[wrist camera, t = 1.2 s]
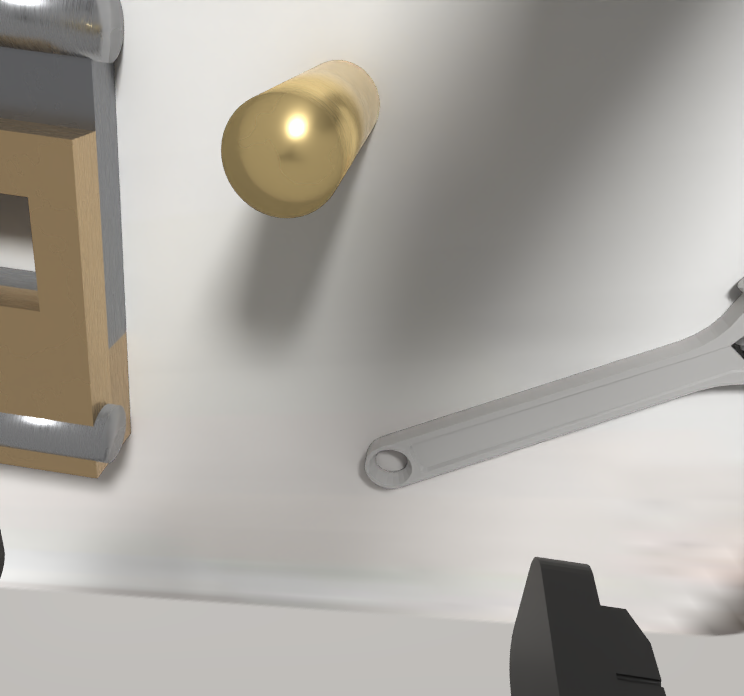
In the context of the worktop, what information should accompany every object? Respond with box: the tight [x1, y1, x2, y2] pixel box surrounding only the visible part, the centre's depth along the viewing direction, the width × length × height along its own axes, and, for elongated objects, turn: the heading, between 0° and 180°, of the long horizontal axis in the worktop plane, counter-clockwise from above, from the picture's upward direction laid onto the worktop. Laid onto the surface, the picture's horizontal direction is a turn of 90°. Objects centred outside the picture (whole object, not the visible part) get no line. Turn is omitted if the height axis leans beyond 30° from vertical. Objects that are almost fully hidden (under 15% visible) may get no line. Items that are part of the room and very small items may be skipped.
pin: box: [221, 60, 380, 218], centre depth 24 cm, size 3×3×11 cm
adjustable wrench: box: [365, 278, 744, 489], centre depth 33 cm, size 25×6×2 cm, turn 110°
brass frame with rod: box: [0, 0, 131, 478], centre depth 31 cm, size 22×10×4 cm, turn 173°
